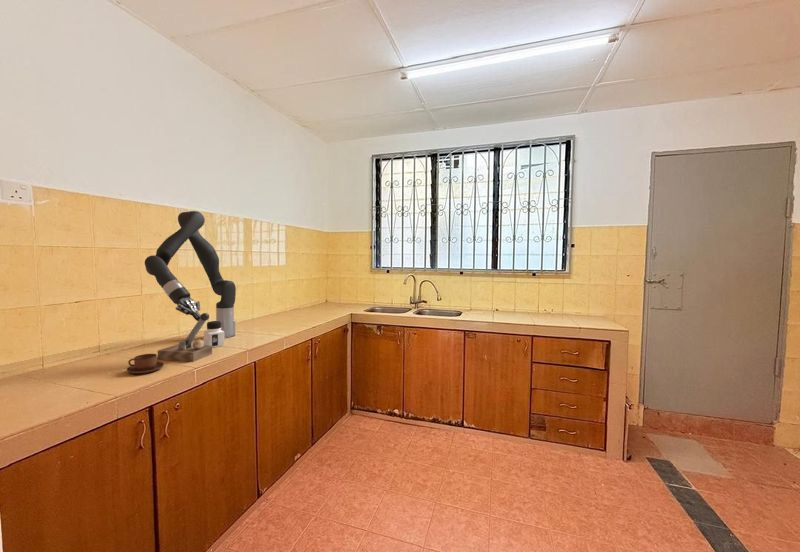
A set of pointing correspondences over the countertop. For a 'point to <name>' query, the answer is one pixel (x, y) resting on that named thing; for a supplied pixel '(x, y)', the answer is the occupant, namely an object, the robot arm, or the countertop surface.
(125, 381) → the countertop surface
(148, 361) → the cup and saucer
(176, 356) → the bench block
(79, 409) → the countertop surface
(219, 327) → the container
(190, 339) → the lever
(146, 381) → the countertop surface
